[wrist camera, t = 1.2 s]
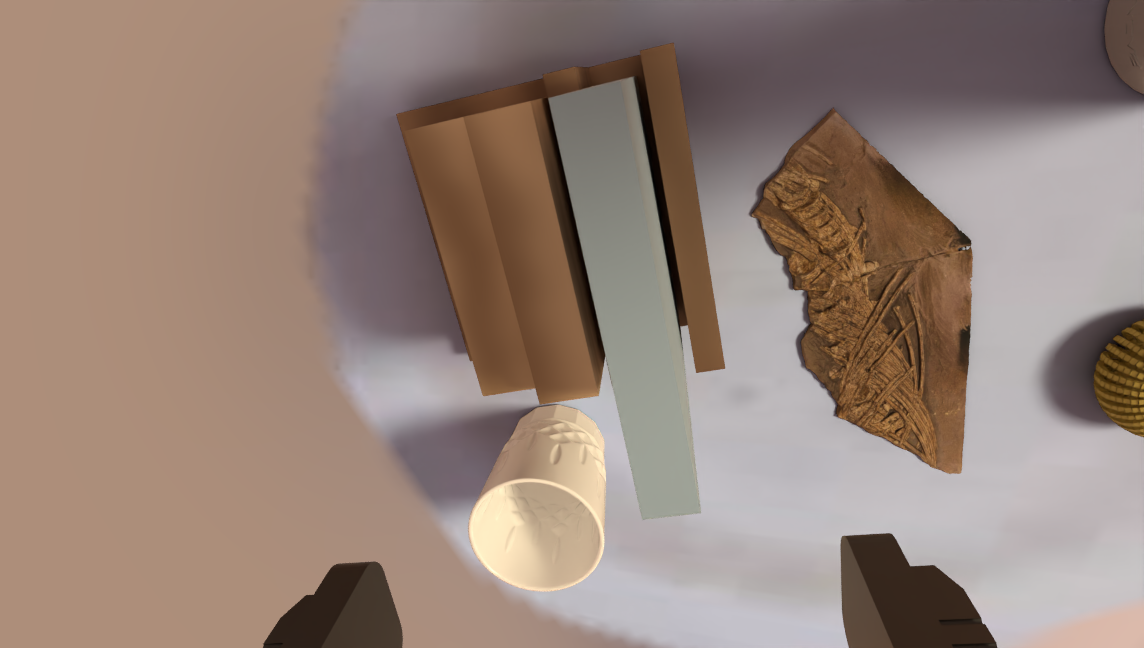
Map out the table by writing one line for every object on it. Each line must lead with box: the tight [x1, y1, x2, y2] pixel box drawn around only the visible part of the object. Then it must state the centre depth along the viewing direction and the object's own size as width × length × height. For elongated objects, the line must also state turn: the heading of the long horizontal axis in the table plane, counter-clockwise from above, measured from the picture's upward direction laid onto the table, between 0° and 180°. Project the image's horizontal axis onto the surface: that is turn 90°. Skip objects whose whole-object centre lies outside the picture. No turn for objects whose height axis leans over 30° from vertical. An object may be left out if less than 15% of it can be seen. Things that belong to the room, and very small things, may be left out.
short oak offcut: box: [404, 108, 535, 396], centre depth 36 cm, size 3×14×8 cm, turn 13°
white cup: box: [468, 405, 606, 591], centre depth 42 cm, size 8×8×10 cm
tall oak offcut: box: [463, 97, 605, 404], centre depth 35 cm, size 3×14×10 cm, turn 13°
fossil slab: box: [752, 108, 973, 474], centre depth 41 cm, size 26×11×1 cm, turn 24°
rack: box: [396, 43, 725, 383], centre depth 37 cm, size 16×16×8 cm
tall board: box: [548, 76, 701, 520], centre depth 29 cm, size 2×14×20 cm, turn 13°
